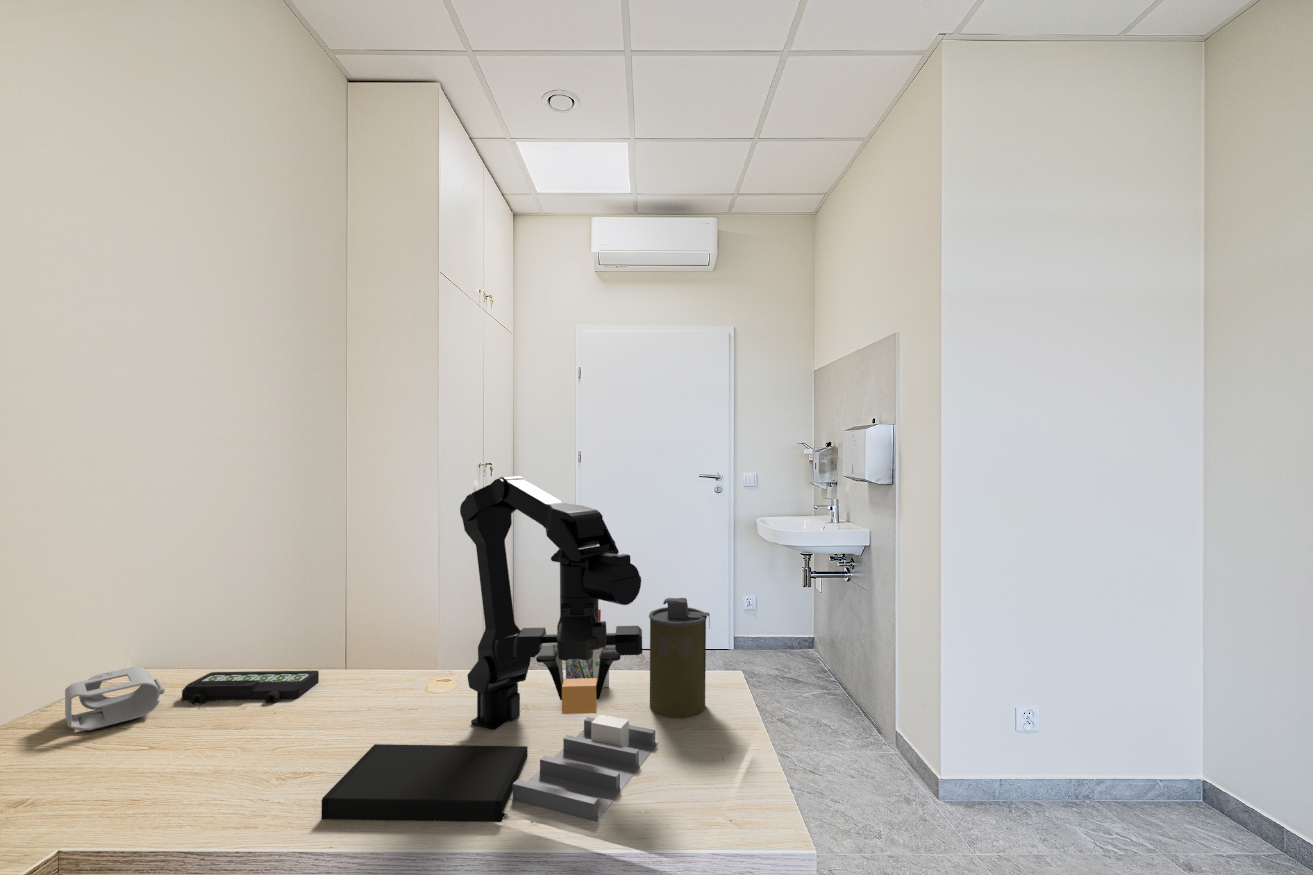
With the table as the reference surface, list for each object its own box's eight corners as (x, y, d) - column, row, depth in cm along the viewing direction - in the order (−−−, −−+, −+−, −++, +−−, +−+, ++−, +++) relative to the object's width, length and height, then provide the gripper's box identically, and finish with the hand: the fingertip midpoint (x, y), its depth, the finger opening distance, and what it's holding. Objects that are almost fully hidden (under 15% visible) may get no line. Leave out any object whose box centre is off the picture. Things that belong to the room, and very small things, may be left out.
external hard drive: (501, 825, 77) (501, 801, 77) (320, 822, 77) (321, 798, 77) (527, 765, 91) (527, 745, 91) (374, 763, 91) (374, 743, 91)
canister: (644, 722, 104) (645, 606, 104) (652, 697, 114) (652, 591, 115) (708, 726, 103) (708, 608, 103) (709, 700, 113) (710, 593, 113)
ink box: (609, 687, 119) (610, 612, 119) (573, 696, 115) (573, 619, 115) (600, 680, 122) (601, 608, 122) (564, 689, 118) (565, 614, 118)
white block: (591, 748, 93) (591, 722, 93) (599, 739, 96) (600, 714, 96) (620, 754, 91) (620, 728, 91) (628, 745, 94) (628, 719, 94)
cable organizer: (63, 679, 106) (68, 699, 97) (155, 659, 115) (166, 676, 107) (64, 717, 106) (68, 740, 97) (155, 695, 115) (166, 714, 107)
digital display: (173, 689, 110) (211, 669, 120) (173, 707, 110) (210, 686, 120) (292, 687, 111) (320, 668, 121) (292, 705, 111) (320, 684, 121)
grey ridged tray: (509, 806, 80) (509, 783, 80) (585, 734, 100) (585, 716, 100) (596, 829, 75) (596, 805, 75) (658, 749, 95) (658, 730, 95)
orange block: (562, 714, 89) (561, 686, 89) (564, 705, 92) (564, 678, 92) (596, 713, 89) (596, 685, 89) (597, 704, 92) (597, 678, 92)
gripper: (504, 609, 82) (505, 725, 82) (642, 606, 83) (643, 721, 83) (520, 590, 93) (521, 692, 93) (641, 588, 94) (642, 689, 94)
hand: (580, 698), depth 90 cm, fingers closed on orange block, 5 cm apart
